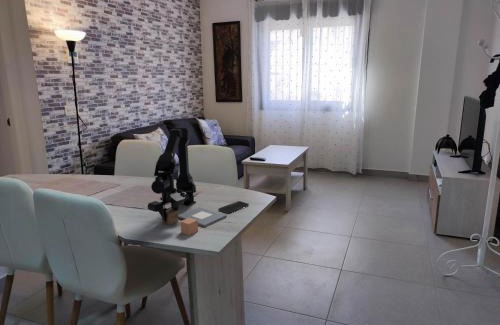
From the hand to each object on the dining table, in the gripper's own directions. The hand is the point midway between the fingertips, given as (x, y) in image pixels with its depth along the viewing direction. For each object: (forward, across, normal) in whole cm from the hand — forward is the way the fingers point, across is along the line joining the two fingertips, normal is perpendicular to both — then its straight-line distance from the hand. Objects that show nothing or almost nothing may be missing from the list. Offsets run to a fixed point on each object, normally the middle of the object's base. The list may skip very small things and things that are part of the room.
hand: (170, 219), depth 158 cm
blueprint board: (+1, +12, -8) cm, 14 cm away
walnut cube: (+1, 0, 0) cm, 1 cm away
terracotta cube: (+1, -2, -15) cm, 15 cm away
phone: (+2, +30, -12) cm, 32 cm away
